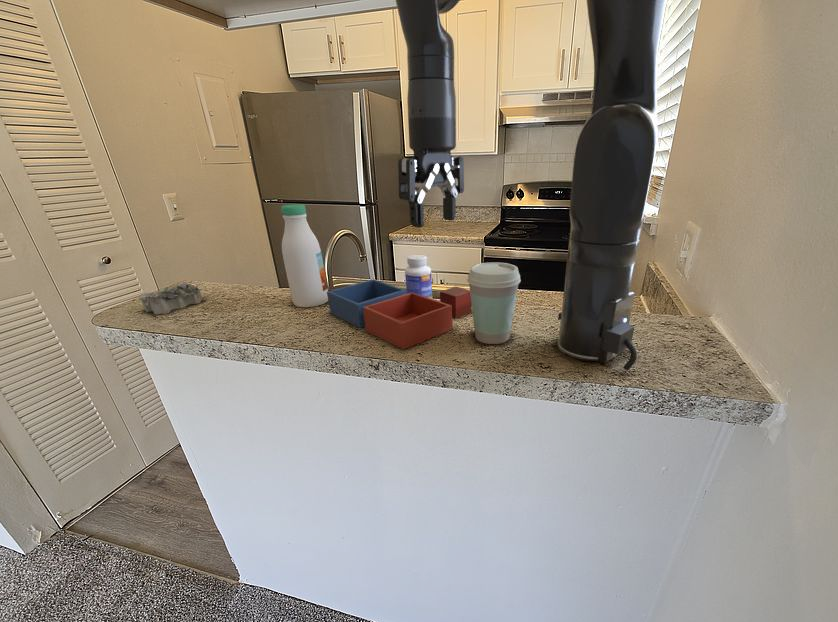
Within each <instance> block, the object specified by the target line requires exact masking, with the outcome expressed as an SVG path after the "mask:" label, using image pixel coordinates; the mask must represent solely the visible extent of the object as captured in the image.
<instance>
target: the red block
mask: <svg viewBox="0 0 838 622" xmlns="http://www.w3.org/2000/svg"><path fill="white" fill-rule="evenodd" d="M439 301H440V302H443V303H446V304H449V305H452V318H454V319H458V318H460V317H462V316H466V315H467V314H470V313H473V312H472V303H471V294H470V289H466V288H463V287H459V286H453V287H450V288H447V289H443V290H440V291H439Z"/></svg>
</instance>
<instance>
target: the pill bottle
mask: <svg viewBox="0 0 838 622" xmlns="http://www.w3.org/2000/svg"><path fill="white" fill-rule="evenodd" d="M406 260H407V262H406V263H407V265H408V266H407V267H406V268H405V269H404V277H405V290H406V294H407V293H411V292H413V293H416V294H419V295H422V296H425V297H428V298H431V299H433V283H432V282H433V280H432V269H431V267H430V266H428V265H427V264H428V257H427V255H425V254H410V255H408V256H407V257H406Z"/></svg>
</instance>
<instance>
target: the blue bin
mask: <svg viewBox="0 0 838 622" xmlns="http://www.w3.org/2000/svg"><path fill="white" fill-rule="evenodd" d="M404 294H407V290H406V289H404V288H401V287H398V286H395V285H392V284H390V283H386V282H384V281H380V280H377V279H369V280H365V281H362V282H358V283H355V284H351V285H347V286H343V287H339V288H335V289H331V290H328V291H327V296H328V301H327V303H328V306H329V307H328V308H329V313H330V314H331V315H333V316H335V317H337V318H339V319H341V320H343V321H345V322H347V323H349V324H351V325H353V326H355V327H357V328H359V329H362V328H366V327H365V320H364V313H363V307H365V306H368V305H371V304H375V303H378V302H381V301H384V300H388V299H391V298H394V297H398V296H401V295H404Z"/></svg>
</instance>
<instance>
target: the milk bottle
mask: <svg viewBox="0 0 838 622" xmlns="http://www.w3.org/2000/svg"><path fill="white" fill-rule="evenodd" d="M280 212H281V215H282V219H283V220H284V229H283V230H284V231H283V234H282V240H281V253H282V259H283V264H284V269H285V274H286V278H287V283H288V287H289V292H290V297H291V300H292V304H293V305H294V306H296V307H299V308H313V307H314V308H315V307H318V306H321V305H324V304H326V303H328V296H327V291H329V287H328V281H327V277H326V270H325V266H324V260H323V255H322V250H321V246H320V243H319V241H318V239H317V236H316V235H315V234H314V232H313V231H312V229H311V227H310V225H309V222H308V221H307V209H306V205H305V204H302V203H294V204H285V205H282V206H280Z"/></svg>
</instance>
